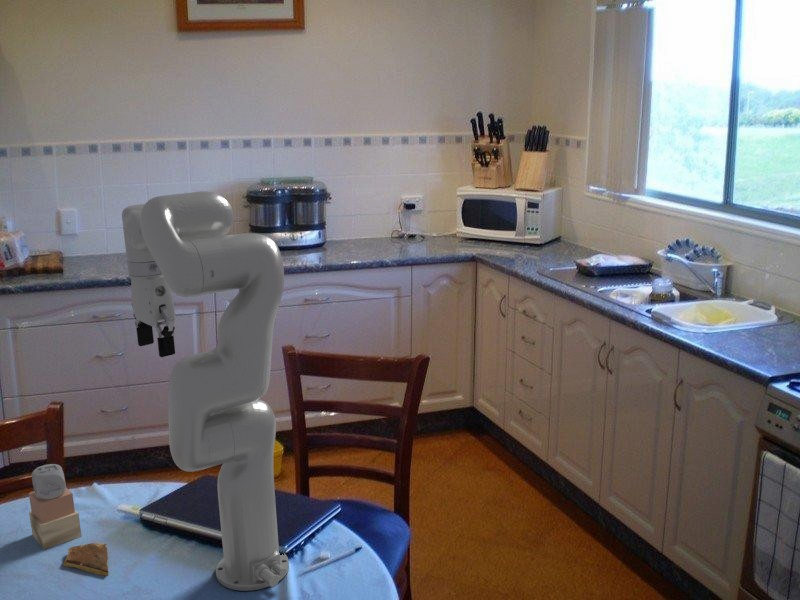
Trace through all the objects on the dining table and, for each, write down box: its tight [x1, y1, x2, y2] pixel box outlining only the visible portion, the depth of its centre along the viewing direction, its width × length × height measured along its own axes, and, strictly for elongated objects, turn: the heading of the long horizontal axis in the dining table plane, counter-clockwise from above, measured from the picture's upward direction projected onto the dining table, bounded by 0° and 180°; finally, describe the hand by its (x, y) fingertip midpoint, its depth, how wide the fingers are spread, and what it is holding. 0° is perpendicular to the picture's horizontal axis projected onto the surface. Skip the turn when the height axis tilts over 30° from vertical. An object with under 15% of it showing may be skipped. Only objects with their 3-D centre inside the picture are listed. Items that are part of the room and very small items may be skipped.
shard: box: [62, 542, 109, 577], centre depth 156 cm, size 11×8×2 cm
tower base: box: [28, 509, 83, 550], centre depth 166 cm, size 7×7×5 cm
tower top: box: [28, 487, 76, 523], centre depth 165 cm, size 6×6×4 cm
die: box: [31, 463, 67, 500], centre depth 163 cm, size 5×5×5 cm
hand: (156, 349), depth 177 cm, fingers open, 9 cm apart
